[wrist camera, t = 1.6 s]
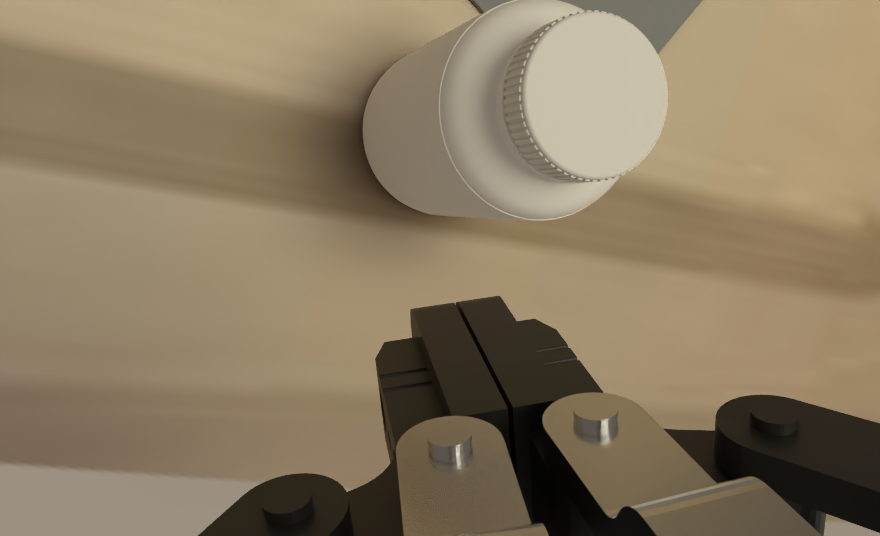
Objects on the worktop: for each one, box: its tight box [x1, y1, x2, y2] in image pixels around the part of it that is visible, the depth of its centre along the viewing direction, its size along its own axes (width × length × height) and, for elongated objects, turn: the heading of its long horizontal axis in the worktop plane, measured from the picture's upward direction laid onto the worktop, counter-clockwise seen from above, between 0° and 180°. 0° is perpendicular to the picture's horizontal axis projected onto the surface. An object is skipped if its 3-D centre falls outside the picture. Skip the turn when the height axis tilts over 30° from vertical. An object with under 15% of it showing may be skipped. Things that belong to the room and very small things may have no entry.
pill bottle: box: [363, 0, 668, 221], centre depth 32 cm, size 8×8×15 cm
